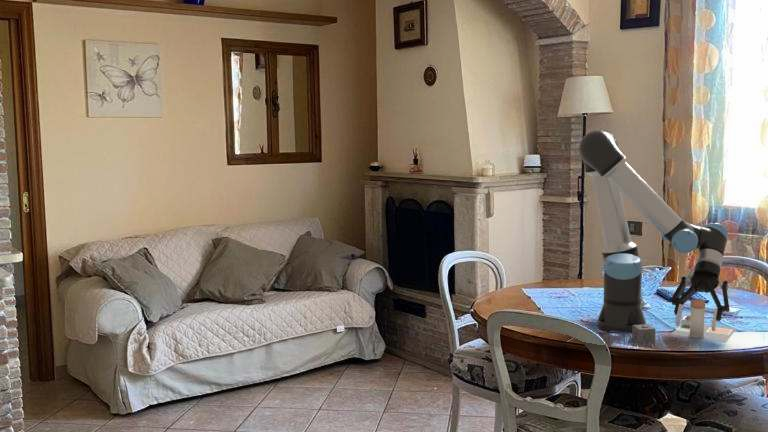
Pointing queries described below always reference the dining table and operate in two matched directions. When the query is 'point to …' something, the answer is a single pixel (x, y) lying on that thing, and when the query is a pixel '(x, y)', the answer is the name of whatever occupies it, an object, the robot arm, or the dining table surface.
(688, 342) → the dining table surface
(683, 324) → the button housing
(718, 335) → the grey flat square panel
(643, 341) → the grey smiley picture cube
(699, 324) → the ball
